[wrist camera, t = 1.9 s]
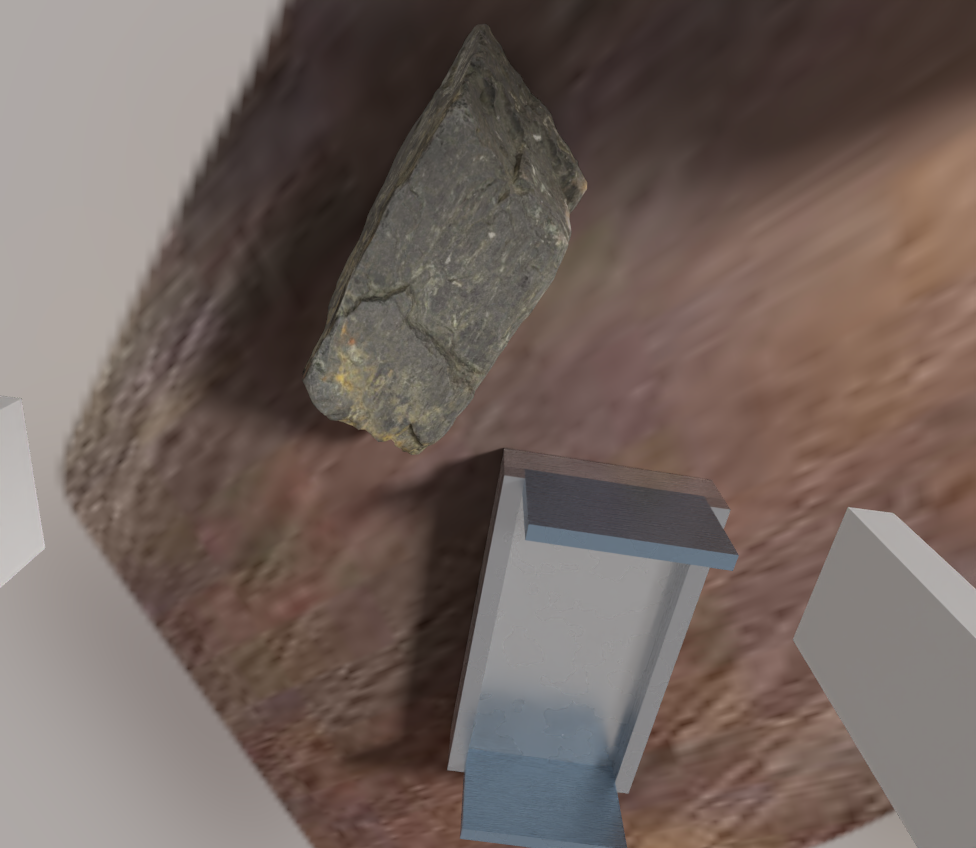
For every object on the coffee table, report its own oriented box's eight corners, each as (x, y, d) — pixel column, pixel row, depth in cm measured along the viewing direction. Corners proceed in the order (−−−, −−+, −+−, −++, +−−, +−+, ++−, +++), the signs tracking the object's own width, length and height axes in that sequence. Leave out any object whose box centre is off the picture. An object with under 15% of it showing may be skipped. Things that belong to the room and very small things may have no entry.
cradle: (504, 448, 33) (505, 520, 27) (711, 480, 34) (761, 558, 27) (450, 728, 41) (441, 836, 35) (619, 750, 42) (641, 861, 35)
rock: (519, 488, 29) (289, 463, 26) (485, 417, 35) (294, 389, 31) (666, 71, 22) (373, -37, 19) (592, 69, 28) (359, -14, 24)
